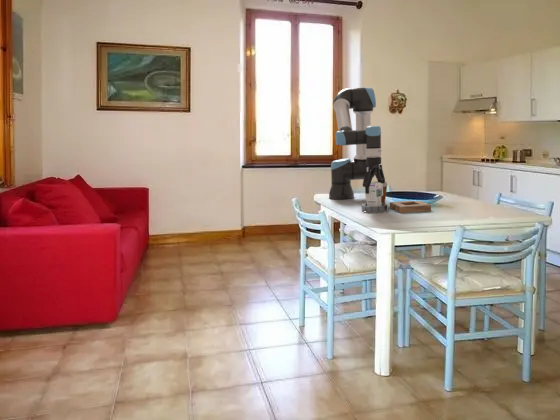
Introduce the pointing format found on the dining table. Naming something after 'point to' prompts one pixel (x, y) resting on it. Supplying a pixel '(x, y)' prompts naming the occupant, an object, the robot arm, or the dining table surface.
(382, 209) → the metal ring
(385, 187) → the disposable coffee cup
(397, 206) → the square socket
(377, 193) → the syrup box
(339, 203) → the dining table surface
